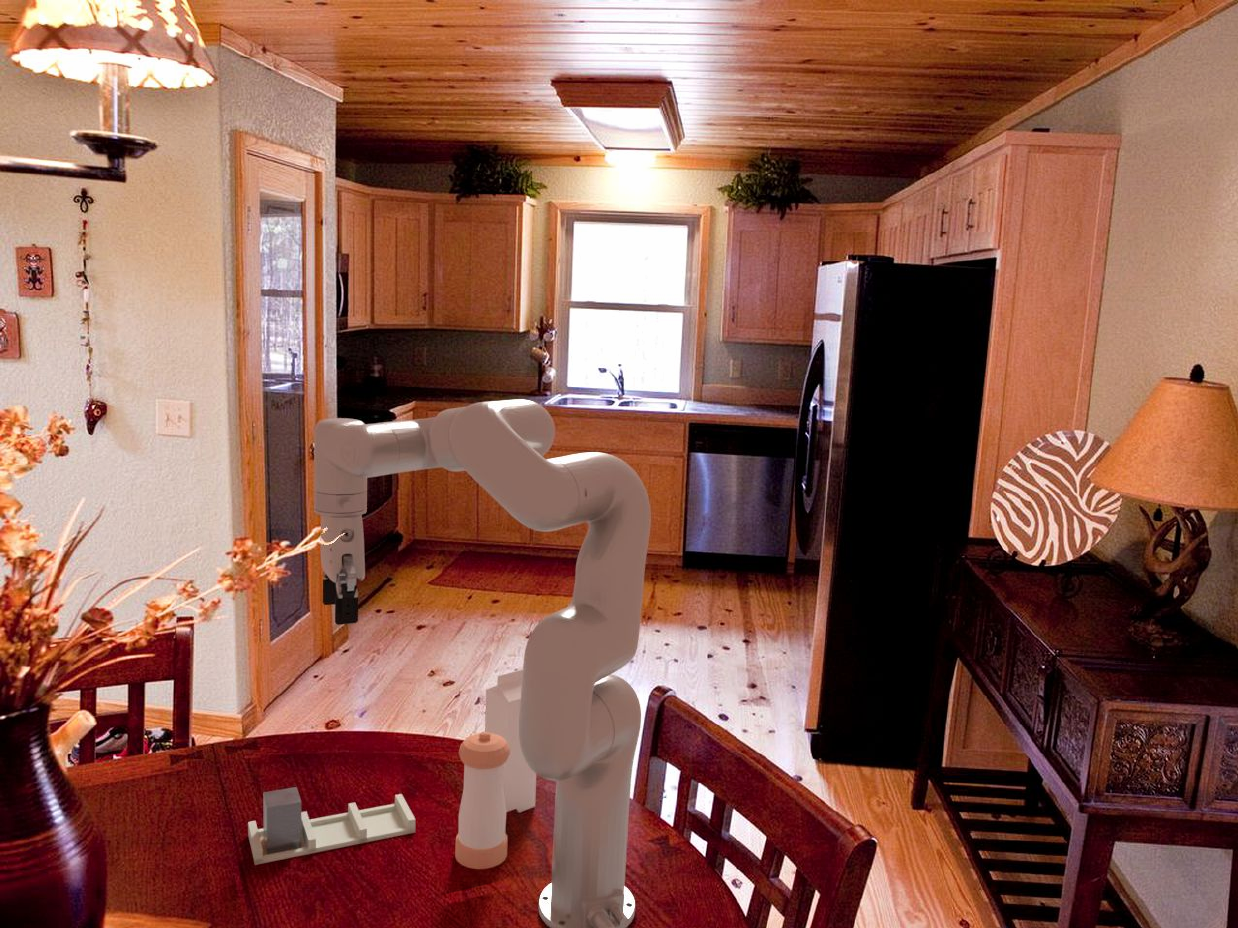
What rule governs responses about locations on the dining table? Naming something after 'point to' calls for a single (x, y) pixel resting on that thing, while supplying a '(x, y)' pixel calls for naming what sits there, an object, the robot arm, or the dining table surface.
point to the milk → (511, 740)
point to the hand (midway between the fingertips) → (339, 613)
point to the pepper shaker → (482, 802)
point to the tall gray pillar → (282, 820)
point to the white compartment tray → (340, 830)
